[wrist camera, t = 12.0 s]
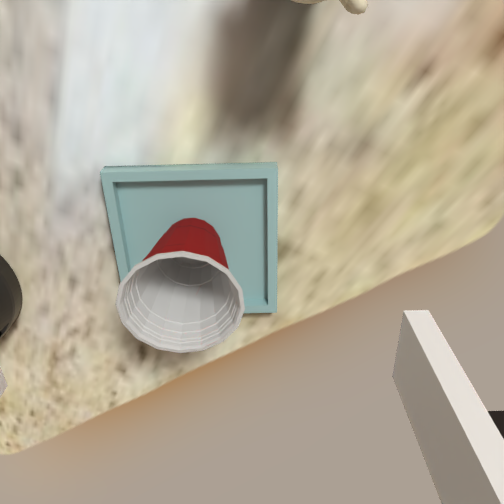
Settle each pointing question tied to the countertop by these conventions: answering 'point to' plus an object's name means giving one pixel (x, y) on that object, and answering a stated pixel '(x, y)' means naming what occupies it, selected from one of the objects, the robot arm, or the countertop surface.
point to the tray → (200, 216)
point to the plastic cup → (182, 291)
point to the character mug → (353, 3)
